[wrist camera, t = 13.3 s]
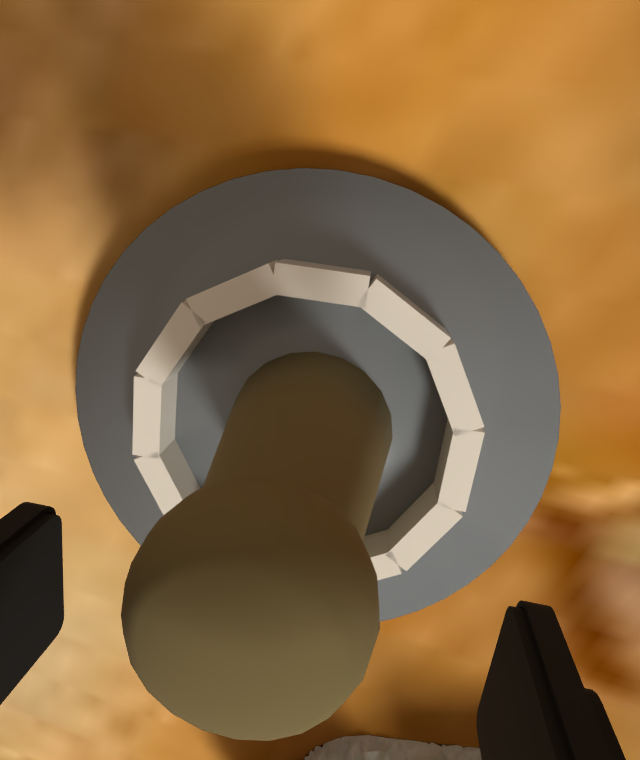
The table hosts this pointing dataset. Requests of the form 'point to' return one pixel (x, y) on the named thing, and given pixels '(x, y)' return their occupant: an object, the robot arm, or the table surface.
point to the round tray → (333, 337)
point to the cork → (268, 559)
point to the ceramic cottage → (389, 750)
